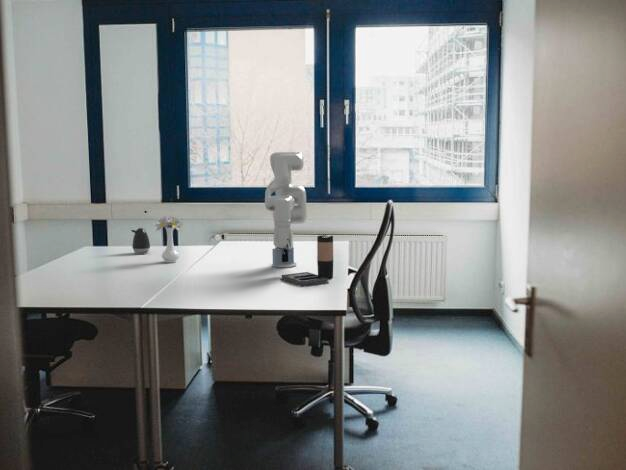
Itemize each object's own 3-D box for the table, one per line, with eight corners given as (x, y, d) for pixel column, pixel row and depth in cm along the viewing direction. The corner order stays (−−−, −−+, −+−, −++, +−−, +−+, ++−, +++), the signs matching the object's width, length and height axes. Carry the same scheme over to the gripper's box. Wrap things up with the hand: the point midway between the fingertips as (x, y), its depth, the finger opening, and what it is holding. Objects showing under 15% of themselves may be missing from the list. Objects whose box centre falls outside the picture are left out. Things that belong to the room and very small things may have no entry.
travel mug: (320, 279, 322) (319, 237, 320) (315, 276, 330) (315, 235, 327) (335, 278, 324) (335, 236, 322) (330, 275, 332) (330, 234, 329)
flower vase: (185, 258, 384) (184, 214, 381) (178, 264, 366) (176, 218, 363) (162, 258, 385) (161, 214, 382) (154, 264, 367) (152, 218, 363)
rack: (280, 279, 323) (280, 274, 323) (305, 276, 331) (305, 270, 330) (302, 286, 307) (302, 281, 306) (328, 283, 314) (328, 277, 314)
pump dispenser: (130, 252, 407) (129, 227, 405) (148, 251, 411) (147, 226, 409) (134, 255, 398) (132, 229, 396) (152, 254, 402) (151, 228, 400)
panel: (272, 265, 330) (272, 248, 329) (290, 262, 336) (290, 246, 334) (275, 266, 328) (275, 249, 326) (293, 263, 333) (293, 247, 332)
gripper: (267, 222, 333) (268, 259, 336) (284, 227, 319) (285, 265, 323) (281, 220, 337) (281, 257, 340) (298, 225, 323) (298, 263, 327)
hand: (283, 260), depth 331 cm, fingers closed on panel, 3 cm apart
